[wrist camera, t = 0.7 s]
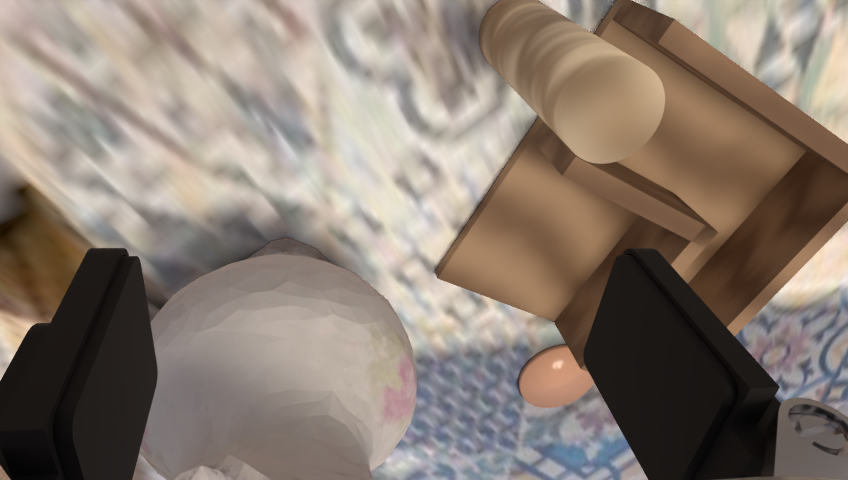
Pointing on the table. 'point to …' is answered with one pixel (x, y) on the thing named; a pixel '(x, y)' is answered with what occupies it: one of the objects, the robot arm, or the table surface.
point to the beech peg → (573, 80)
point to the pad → (553, 378)
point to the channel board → (661, 194)
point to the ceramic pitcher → (278, 373)
